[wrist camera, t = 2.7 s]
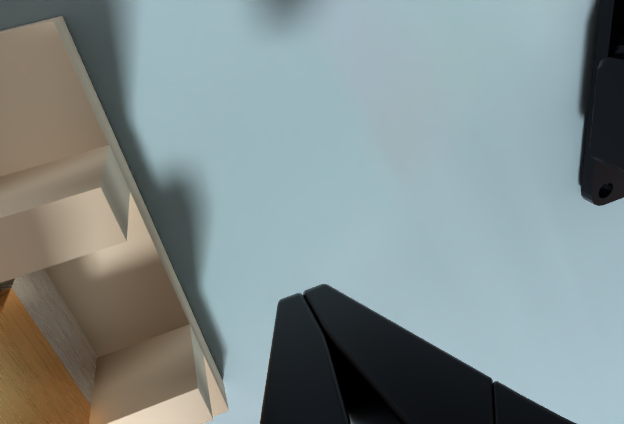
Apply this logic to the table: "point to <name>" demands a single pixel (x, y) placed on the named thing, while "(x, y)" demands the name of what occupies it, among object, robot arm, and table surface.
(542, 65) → the table surface
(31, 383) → the lock bolt
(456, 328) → the table surface
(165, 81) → the table surface
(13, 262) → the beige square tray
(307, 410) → the robot arm
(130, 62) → the table surface
